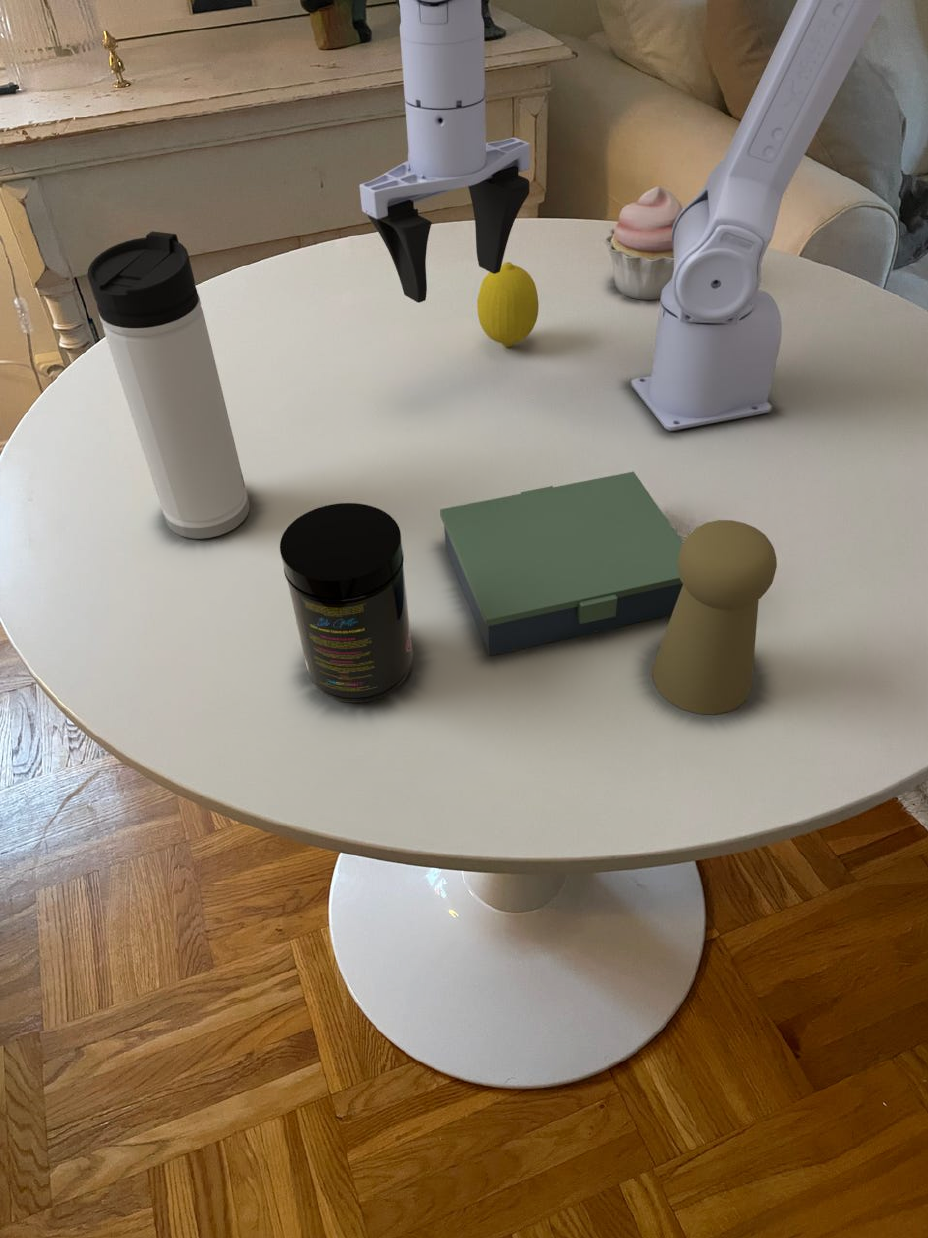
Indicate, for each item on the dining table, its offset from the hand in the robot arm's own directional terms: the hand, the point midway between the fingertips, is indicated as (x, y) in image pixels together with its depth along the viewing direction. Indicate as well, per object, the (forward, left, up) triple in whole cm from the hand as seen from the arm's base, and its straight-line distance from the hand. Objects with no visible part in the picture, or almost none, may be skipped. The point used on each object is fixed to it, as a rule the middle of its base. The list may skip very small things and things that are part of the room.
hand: (453, 282), depth 75 cm
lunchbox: (0, +26, -10) cm, 28 cm away
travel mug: (+23, +11, -10) cm, 27 cm away
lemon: (-6, -6, -10) cm, 13 cm away
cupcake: (-23, -13, -10) cm, 28 cm away
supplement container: (+15, +30, -10) cm, 35 cm away
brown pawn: (-5, +37, -10) cm, 39 cm away
